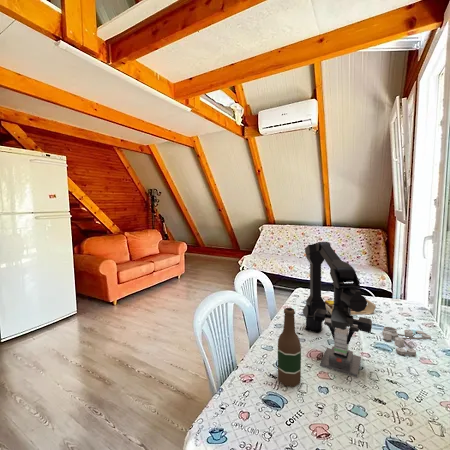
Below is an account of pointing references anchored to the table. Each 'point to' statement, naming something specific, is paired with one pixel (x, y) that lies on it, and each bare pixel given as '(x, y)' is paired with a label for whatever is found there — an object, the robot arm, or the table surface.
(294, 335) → the beer bottle
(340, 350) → the grey slab
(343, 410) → the table surface
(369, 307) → the toy food set
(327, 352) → the stand base
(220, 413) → the table surface
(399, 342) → the pulley system
